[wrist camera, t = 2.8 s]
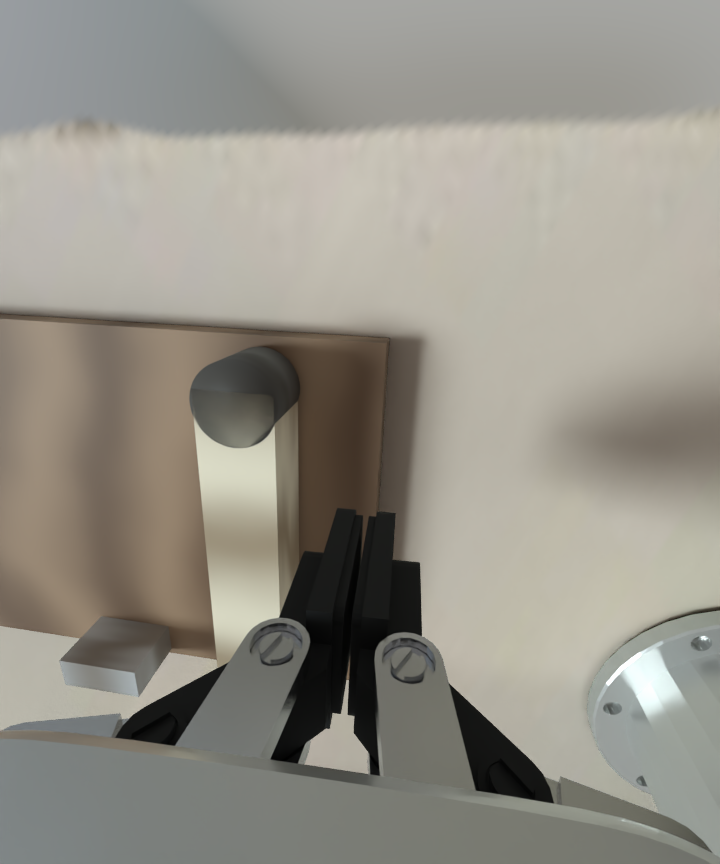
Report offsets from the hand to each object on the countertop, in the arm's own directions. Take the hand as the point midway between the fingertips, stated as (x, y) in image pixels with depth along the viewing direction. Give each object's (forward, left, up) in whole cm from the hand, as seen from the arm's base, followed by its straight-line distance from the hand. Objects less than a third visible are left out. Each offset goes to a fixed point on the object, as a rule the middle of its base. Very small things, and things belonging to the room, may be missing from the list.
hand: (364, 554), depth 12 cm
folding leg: (+5, +3, -7) cm, 9 cm away
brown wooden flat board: (+13, +4, -8) cm, 16 cm away
